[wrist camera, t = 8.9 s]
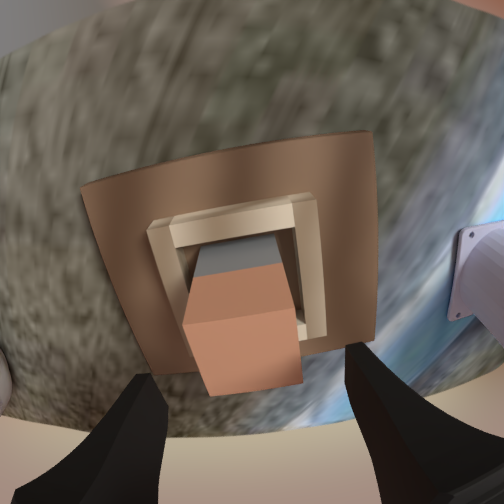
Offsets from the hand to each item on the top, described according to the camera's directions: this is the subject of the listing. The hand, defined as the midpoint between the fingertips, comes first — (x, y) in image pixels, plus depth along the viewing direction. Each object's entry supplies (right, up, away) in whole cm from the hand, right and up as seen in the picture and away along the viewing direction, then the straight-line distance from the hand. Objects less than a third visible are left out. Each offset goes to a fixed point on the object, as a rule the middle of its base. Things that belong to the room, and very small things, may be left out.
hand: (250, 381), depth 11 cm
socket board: (0, +4, +8) cm, 9 cm away
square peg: (0, +4, +7) cm, 8 cm away
